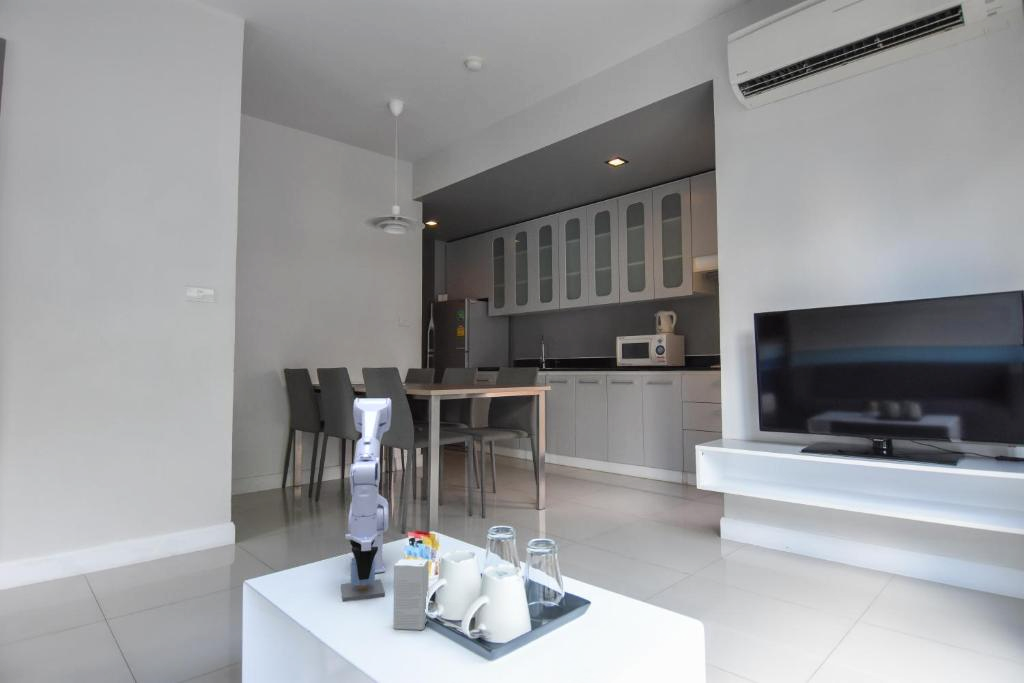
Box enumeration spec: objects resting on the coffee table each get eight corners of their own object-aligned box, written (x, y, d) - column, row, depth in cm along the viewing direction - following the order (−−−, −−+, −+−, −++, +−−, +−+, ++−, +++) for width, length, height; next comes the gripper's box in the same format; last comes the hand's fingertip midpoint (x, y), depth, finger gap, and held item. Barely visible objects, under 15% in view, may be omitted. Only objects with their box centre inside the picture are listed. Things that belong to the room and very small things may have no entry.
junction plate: (340, 587, 126) (341, 570, 127) (380, 582, 130) (380, 566, 130) (342, 601, 118) (343, 583, 118) (384, 596, 121) (385, 578, 121)
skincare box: (428, 621, 108) (429, 559, 109) (423, 630, 104) (424, 566, 105) (398, 620, 109) (400, 558, 110) (392, 629, 104) (393, 565, 105)
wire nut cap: (350, 578, 126) (350, 556, 126) (373, 576, 127) (373, 554, 128) (351, 586, 121) (352, 563, 121) (375, 583, 122) (376, 560, 123)
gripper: (344, 508, 131) (343, 567, 130) (347, 522, 117) (346, 587, 116) (374, 506, 133) (373, 564, 132) (381, 519, 120) (379, 583, 118)
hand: (362, 575), depth 124 cm, fingers closed on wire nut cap, 5 cm apart
